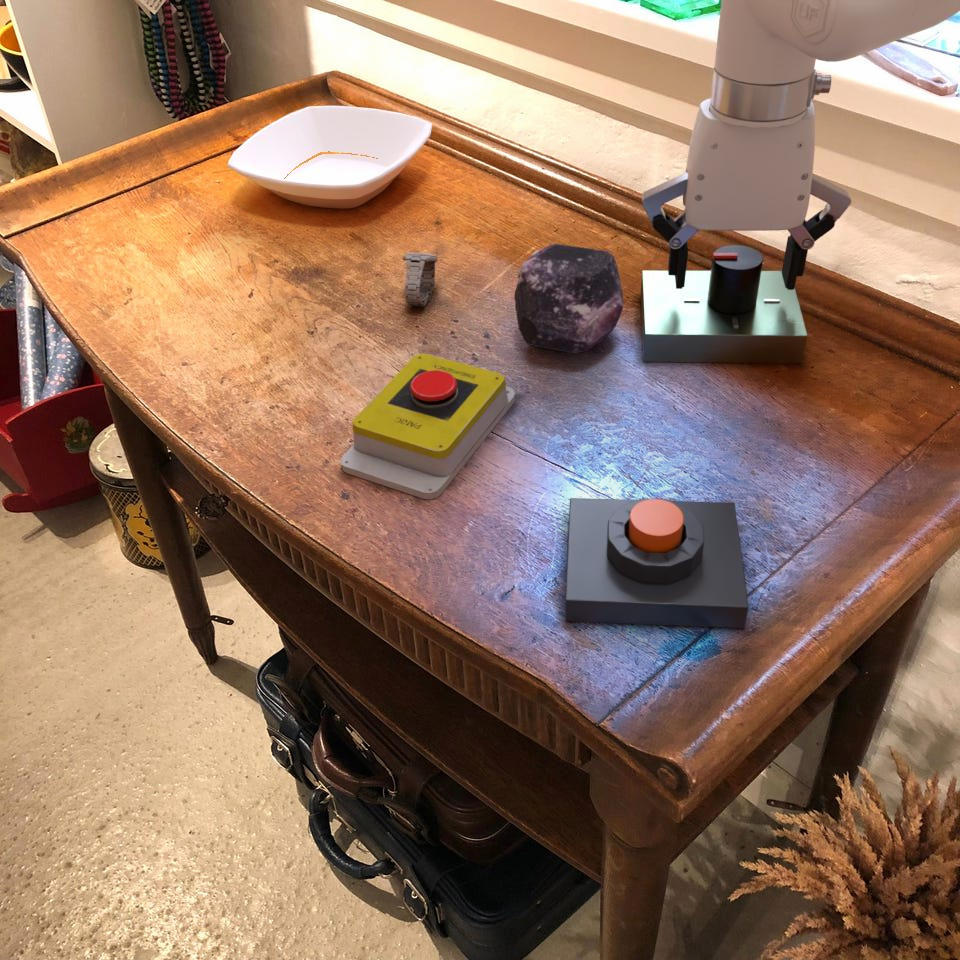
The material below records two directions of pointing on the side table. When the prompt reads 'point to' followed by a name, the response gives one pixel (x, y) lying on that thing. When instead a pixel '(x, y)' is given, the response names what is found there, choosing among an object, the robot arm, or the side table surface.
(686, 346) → the panel
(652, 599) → the button block
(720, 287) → the knob
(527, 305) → the mineral specimen
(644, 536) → the button
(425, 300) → the wristwatch
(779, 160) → the robot arm
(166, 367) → the side table surface
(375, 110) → the bowl
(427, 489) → the emergency button
